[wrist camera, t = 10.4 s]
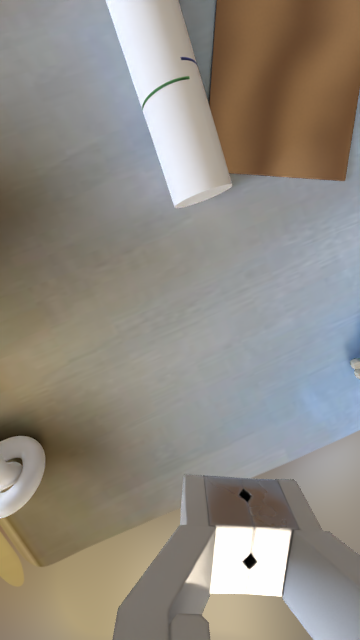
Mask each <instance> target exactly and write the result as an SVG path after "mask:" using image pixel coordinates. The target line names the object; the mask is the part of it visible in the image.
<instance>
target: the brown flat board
mask: <svg viewBox="0 0 360 640" xmlns="http://www.w3.org/2000/svg"><path fill="white" fill-rule="evenodd" d="M359 90H360V0H217V3H216V17H215V31H214V45H213V59H212V73H211V87H210V101H209V107H210V110H211V114H212V117H213V120H214V124H215V127H216V131H217V134H218V138H219V141H220V144H221V148H222V151H223V155H224V158H225V162H226V165H227V168H228V172H229V173H232V174H247V175H262V176H276V177H291V178H306V179H320V180H335V181H345V178H346V172H347V165H348V159H349V153H350V146H351V140H352V134H353V128H354V121H355V115H356V109H357V102H358V96H359Z"/></svg>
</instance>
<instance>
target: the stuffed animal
mask: <svg viewBox="0 0 360 640" xmlns="http://www.w3.org/2000/svg"><path fill="white" fill-rule="evenodd" d="M350 365H351V367H352V368H353V369H355V370H354V374H355V376H356V377H357V378H359V379H360V358H355V359H353V360H351V361H350Z"/></svg>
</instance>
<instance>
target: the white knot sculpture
mask: <svg viewBox="0 0 360 640" xmlns="http://www.w3.org/2000/svg"><path fill="white" fill-rule="evenodd" d="M13 458H21V459H22V461H23V467H22V465H21V464H20V463H18V462H6V461H8V460H10V459H13ZM44 469H45V454H44V450H43V448H42V446H41V445H40V443H39V442H38V441H36V440H35V439H33V438H31V437H28V436H15V437H11V438H8V439H5V440H3V441H0V491H2V490H4V489H6V488H8V487H10V486H11V485H13V484H14V485H13V486H12V487H11V488H10V489H9V490H8V491H6V492H4V493H1V492H0V518H4V517H7V516H9V515H11V514H13V513H15V512H16V511H17V510H19V509H20V508H21V507H23V506H24V505H25V503H26V502H27V501H28V500H29V499H30V498H31V497H32V495H33V494H34V493H35V491H36V489H37V488H38V486H39V484H40V482H41V479H42V476H43V474H44Z"/></svg>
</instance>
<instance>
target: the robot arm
mask: <svg viewBox="0 0 360 640" xmlns="http://www.w3.org/2000/svg"><path fill="white" fill-rule="evenodd" d="M215 593H216V594H256V595H268V596H282V597H283V600H284V602H285V603H286V604H287V605H288V607H289V608H290V609H291V611H292V612H293V613H294V615H295V616H296V617H297V619H298V620H299V621H300V623H301V624H302V625H303V627H304V628H305V629H306V631H307V632H308V633H309V635H310V636H311V637H312V638H313V640H360V555H359V554H357V553H356V552H355V551H354V550H352V549H351V548H350V547H348V546H347V545H346V544H345V543H343V542H342V541H341V540H339V539H338V538H337V537H336V536H334V535H333V534H332V533H330V532H327V531H323V530H322V528H321V526H320V524H319V523H318V521H317V519H316V517H315V515H314V513H313V511H312V510H311V508H310V506H309V504H308V502H307V500H306V499H305V497H304V495H303V493H302V491H301V489H300V488H299V485H298V484H297V482H296V481H295V480H294V479H275V480H272V479H248V478H234V477H220V476H206V475H203V476H202V475H187V474H184V478H183V490H182V503H181V520H180V525H179V527H178V528H177V529H176V531H175V532H174V533H173V535H172V536H171V537H170V539H169V540H168V542H167V543H166V544H165V545H164V547H163V548H162V549H161V551H160V552H159V554H158V555H157V556H156V558H155V559H154V560H153V562H152V563H151V564H150V566H149V567H148V568H147V570H146V571H145V572H144V574H143V576H142V577H141V578H140V579H139V581H138V582H137V583H136V585H135V586H134V588H133V589H132V590H131V591H130V593H129V594H128V595H127V597H126V598H125V600H124V601H123V602H122V604H121V605H120V606H119V608H118V612H117V618H116V623H115V629H114V635H113V640H210V632H209V623H208V622H207V620H206V619H205V618H204V617H203V616H202V613H203V611H204V608H205V606H206V603H207V601H208V599H209V597H210V594H215Z"/></svg>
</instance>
